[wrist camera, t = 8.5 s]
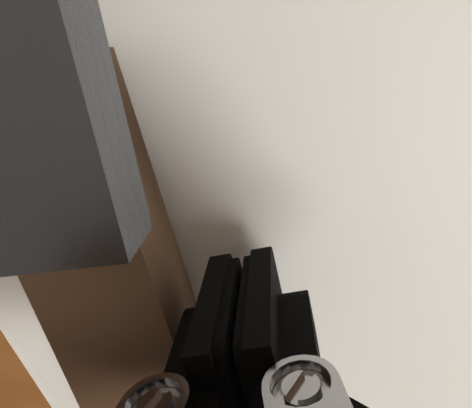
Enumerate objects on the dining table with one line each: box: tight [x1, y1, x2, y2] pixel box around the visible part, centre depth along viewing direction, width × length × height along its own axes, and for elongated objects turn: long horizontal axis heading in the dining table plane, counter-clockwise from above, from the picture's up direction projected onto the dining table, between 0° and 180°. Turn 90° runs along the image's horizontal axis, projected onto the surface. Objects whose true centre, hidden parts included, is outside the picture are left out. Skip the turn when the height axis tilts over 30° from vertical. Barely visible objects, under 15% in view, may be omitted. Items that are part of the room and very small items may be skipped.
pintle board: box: [0, 0, 472, 408], centre depth 13 cm, size 22×22×2 cm
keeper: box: [0, 0, 153, 277], centre depth 8 cm, size 7×2×5 cm, turn 9°
